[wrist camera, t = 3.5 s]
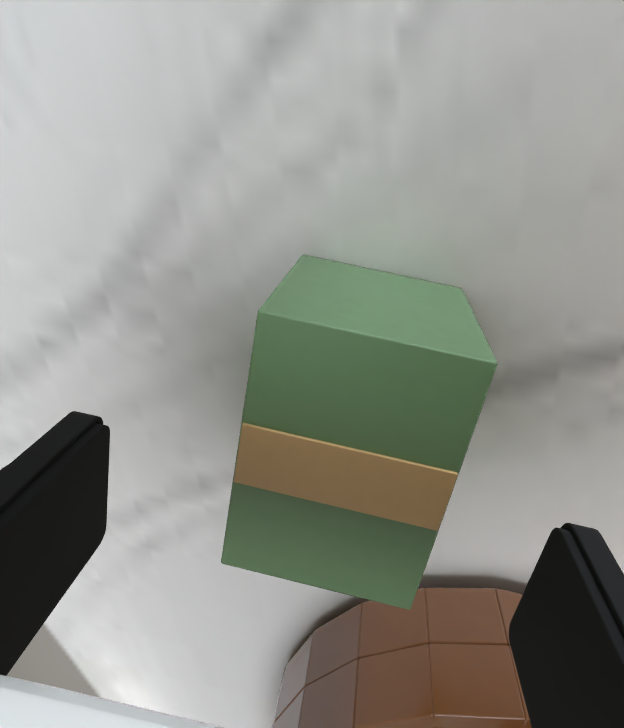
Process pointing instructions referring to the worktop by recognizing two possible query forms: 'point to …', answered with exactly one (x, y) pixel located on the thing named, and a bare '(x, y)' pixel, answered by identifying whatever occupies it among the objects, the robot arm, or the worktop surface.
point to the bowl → (409, 666)
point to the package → (354, 428)
